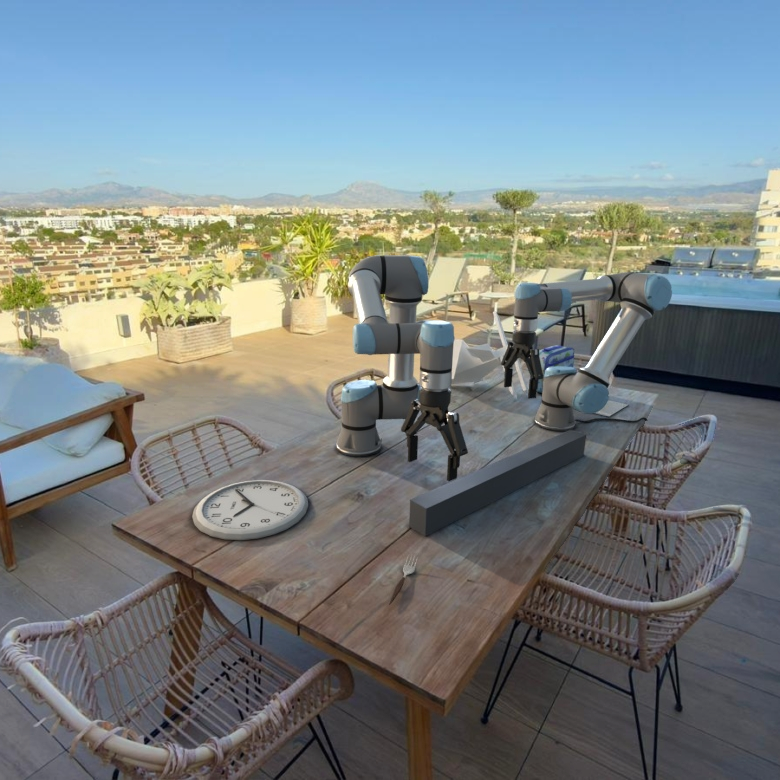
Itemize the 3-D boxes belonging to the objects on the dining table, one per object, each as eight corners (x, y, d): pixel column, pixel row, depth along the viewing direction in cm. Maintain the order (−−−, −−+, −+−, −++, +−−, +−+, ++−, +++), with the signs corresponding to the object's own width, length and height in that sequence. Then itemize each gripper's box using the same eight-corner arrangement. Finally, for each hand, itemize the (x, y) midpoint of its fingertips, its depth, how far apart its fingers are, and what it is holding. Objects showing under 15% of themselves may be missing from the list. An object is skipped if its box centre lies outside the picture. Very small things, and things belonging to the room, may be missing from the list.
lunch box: (546, 398, 236) (551, 353, 229) (525, 393, 243) (529, 349, 237) (573, 387, 253) (579, 344, 247) (553, 382, 260) (558, 341, 254)
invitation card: (608, 416, 214) (573, 407, 224) (608, 416, 214) (573, 408, 224) (628, 404, 229) (594, 396, 238) (628, 405, 229) (594, 397, 238)
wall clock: (304, 532, 127) (176, 536, 124) (304, 538, 127) (177, 542, 125) (311, 475, 155) (207, 478, 153) (311, 480, 156) (208, 483, 153)
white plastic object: (461, 429, 252) (437, 405, 227) (444, 352, 274) (420, 323, 250) (535, 404, 240) (518, 377, 215) (510, 326, 262) (492, 293, 237)
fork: (383, 605, 105) (383, 597, 105) (407, 560, 120) (408, 552, 119) (395, 608, 104) (395, 600, 104) (418, 562, 119) (419, 555, 118)
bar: (568, 450, 181) (570, 429, 179) (583, 455, 177) (586, 434, 175) (409, 526, 133) (410, 499, 131) (425, 536, 129) (426, 508, 127)
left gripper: (388, 378, 129) (386, 456, 136) (464, 404, 112) (459, 493, 118) (410, 373, 134) (408, 449, 141) (487, 397, 116) (480, 483, 123)
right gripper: (493, 325, 182) (489, 383, 188) (539, 339, 160) (533, 404, 166) (511, 323, 184) (507, 381, 191) (559, 337, 163) (552, 401, 169)
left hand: (431, 469), depth 129 cm, fingers open, 13 cm apart
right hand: (519, 392), depth 179 cm, fingers open, 13 cm apart
